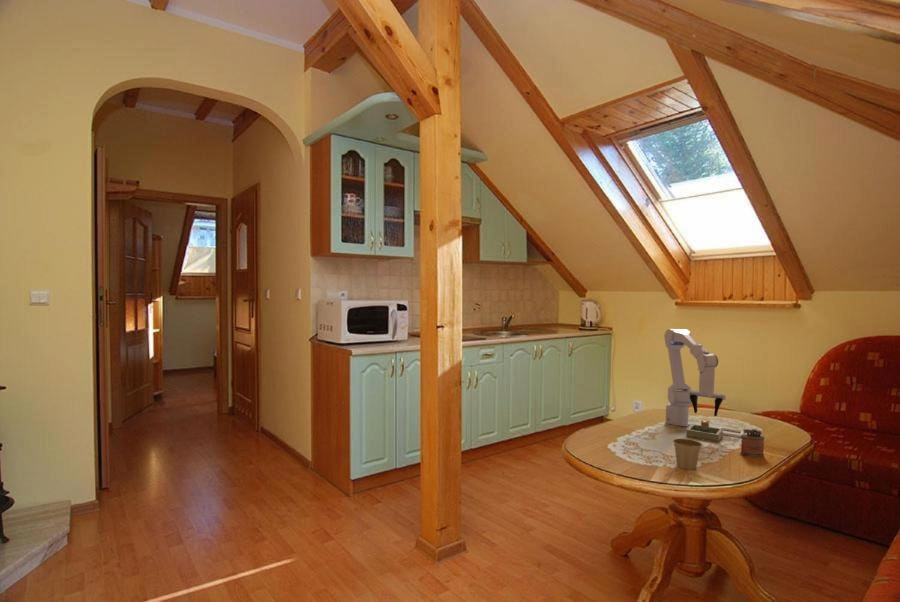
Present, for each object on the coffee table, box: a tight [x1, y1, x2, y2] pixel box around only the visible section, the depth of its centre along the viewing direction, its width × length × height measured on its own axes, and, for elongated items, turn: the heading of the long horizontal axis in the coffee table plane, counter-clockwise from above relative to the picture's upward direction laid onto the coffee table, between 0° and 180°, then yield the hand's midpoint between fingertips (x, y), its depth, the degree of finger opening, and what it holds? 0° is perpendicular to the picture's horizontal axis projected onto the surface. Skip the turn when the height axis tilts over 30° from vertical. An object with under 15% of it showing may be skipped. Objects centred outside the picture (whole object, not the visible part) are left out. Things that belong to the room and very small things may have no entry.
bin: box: [686, 423, 724, 443], centre depth 217 cm, size 12×12×3 cm
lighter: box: [740, 428, 766, 458], centre depth 192 cm, size 8×3×10 cm, turn 84°
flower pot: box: [672, 438, 703, 471], centre depth 178 cm, size 9×9×9 cm
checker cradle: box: [718, 426, 745, 439], centre depth 223 cm, size 10×10×1 cm
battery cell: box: [700, 419, 710, 433], centre depth 217 cm, size 3×3×6 cm
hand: (705, 414), depth 217 cm, fingers open, 7 cm apart
